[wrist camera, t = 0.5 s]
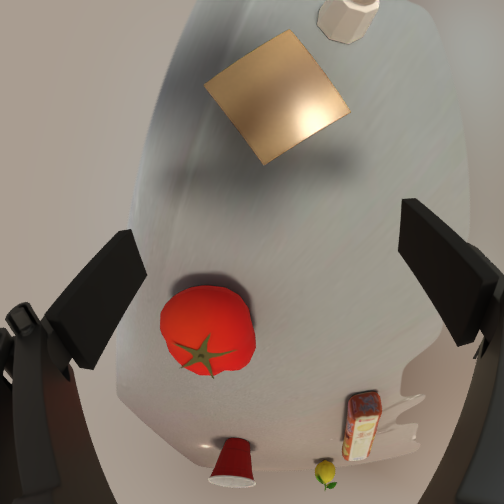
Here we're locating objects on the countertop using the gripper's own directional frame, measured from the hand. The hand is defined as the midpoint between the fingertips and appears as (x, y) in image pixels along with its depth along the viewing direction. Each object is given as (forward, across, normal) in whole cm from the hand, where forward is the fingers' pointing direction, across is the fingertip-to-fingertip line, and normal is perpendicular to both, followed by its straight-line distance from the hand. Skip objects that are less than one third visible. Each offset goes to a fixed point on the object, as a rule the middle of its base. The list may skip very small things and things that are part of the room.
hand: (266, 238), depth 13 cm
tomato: (+18, -9, -18) cm, 27 cm away
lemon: (+15, +8, -75) cm, 77 cm away
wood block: (+19, +2, +6) cm, 20 cm away
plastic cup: (+16, -14, -61) cm, 65 cm away
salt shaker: (+19, +10, +15) cm, 26 cm away
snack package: (+16, +13, -51) cm, 55 cm away
